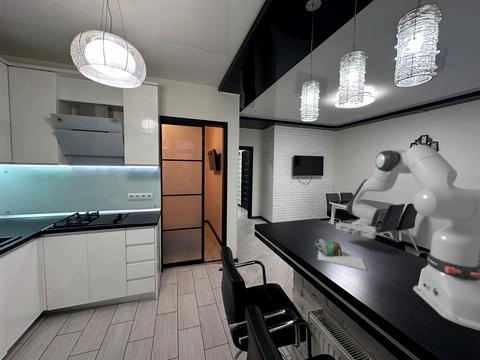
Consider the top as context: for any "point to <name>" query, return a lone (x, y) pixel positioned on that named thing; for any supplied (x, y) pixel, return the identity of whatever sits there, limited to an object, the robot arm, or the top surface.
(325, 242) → the food container
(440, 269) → the robot arm
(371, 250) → the top surface
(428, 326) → the top surface
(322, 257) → the rubber mat
